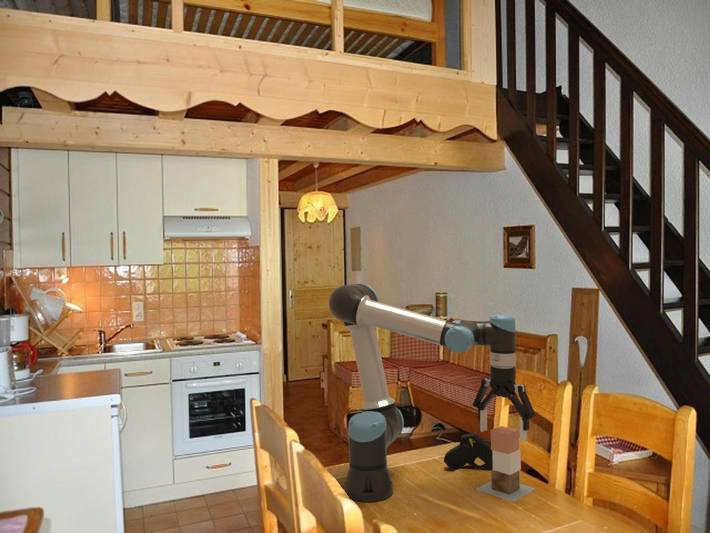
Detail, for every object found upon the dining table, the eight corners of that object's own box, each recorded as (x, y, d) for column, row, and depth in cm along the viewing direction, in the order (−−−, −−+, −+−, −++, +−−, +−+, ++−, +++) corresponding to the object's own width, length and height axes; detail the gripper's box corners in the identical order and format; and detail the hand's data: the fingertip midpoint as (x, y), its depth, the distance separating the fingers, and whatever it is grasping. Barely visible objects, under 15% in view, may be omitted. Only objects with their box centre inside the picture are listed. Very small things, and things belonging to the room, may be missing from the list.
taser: (441, 458, 190) (466, 425, 188) (484, 492, 187) (510, 458, 184) (440, 463, 186) (466, 428, 184) (484, 497, 183) (511, 462, 180)
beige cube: (492, 469, 167) (492, 450, 167) (503, 464, 171) (502, 445, 171) (510, 475, 163) (510, 454, 163) (520, 469, 167) (520, 449, 167)
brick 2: (491, 489, 168) (491, 469, 168) (502, 483, 172) (501, 464, 172) (509, 494, 163) (508, 474, 163) (519, 488, 167) (519, 468, 167)
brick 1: (491, 449, 168) (490, 430, 168) (501, 445, 172) (501, 425, 172) (508, 454, 163) (508, 434, 163) (519, 449, 167) (518, 429, 167)
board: (475, 493, 168) (475, 489, 168) (498, 480, 177) (498, 477, 177) (513, 506, 158) (513, 501, 158) (536, 492, 167) (536, 488, 167)
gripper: (461, 362, 174) (461, 429, 174) (534, 373, 156) (534, 448, 156) (474, 359, 179) (475, 424, 179) (547, 369, 161) (547, 442, 161)
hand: (503, 435), depth 168 cm, fingers open, 13 cm apart
